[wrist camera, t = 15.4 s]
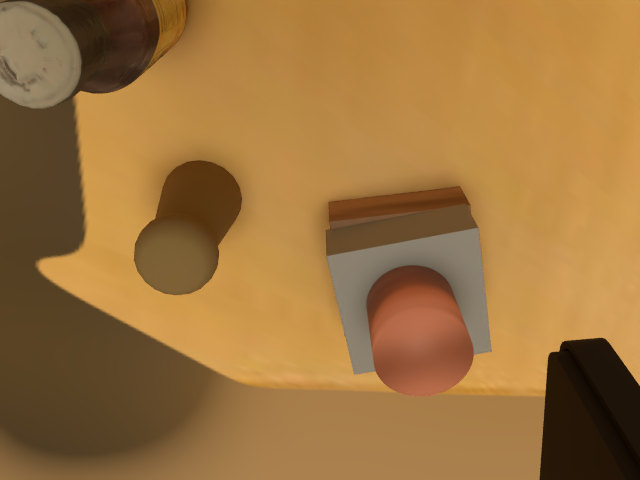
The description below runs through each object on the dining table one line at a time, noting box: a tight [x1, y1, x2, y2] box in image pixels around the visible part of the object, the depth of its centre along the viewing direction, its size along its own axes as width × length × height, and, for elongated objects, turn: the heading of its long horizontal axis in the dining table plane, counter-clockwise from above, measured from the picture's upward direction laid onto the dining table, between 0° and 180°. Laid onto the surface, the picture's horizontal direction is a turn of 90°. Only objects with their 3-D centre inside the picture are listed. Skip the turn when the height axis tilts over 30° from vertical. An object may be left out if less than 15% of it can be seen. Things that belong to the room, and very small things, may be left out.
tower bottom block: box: [329, 187, 471, 335], centre depth 48 cm, size 10×10×4 cm
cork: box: [134, 160, 242, 295], centre depth 42 cm, size 6×6×11 cm
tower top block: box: [326, 204, 492, 375], centre depth 44 cm, size 10×10×4 cm
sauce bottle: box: [0, 0, 187, 109], centre depth 32 cm, size 6×6×20 cm
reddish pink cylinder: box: [366, 265, 474, 396], centre depth 39 cm, size 6×6×6 cm
